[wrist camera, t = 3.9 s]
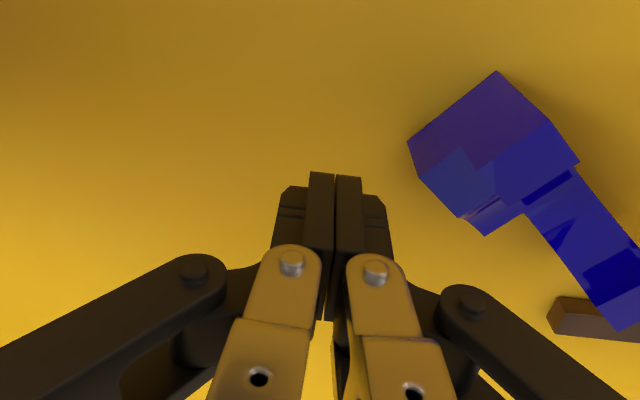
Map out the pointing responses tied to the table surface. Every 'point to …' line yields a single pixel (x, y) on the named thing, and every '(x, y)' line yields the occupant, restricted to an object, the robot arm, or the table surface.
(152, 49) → the table surface
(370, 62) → the table surface
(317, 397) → the table surface
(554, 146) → the cable holder
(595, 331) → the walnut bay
